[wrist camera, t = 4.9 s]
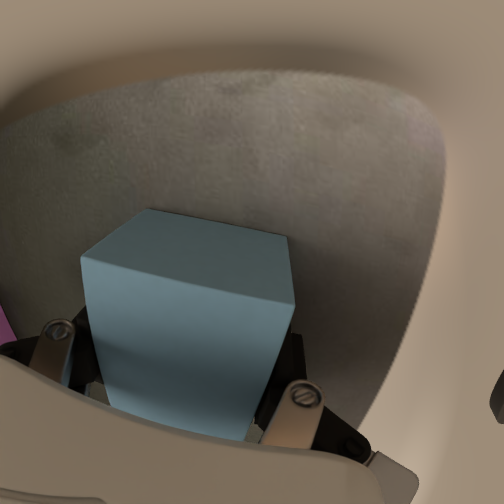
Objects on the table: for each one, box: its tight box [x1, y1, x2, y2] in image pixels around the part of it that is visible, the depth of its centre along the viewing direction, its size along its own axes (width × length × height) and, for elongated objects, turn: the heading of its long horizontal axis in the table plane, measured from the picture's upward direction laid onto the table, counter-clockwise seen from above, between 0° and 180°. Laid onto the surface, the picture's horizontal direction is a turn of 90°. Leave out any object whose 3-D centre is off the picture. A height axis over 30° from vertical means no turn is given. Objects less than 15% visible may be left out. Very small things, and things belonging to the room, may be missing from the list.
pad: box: [80, 209, 295, 442], centre depth 10 cm, size 6×8×4 cm
